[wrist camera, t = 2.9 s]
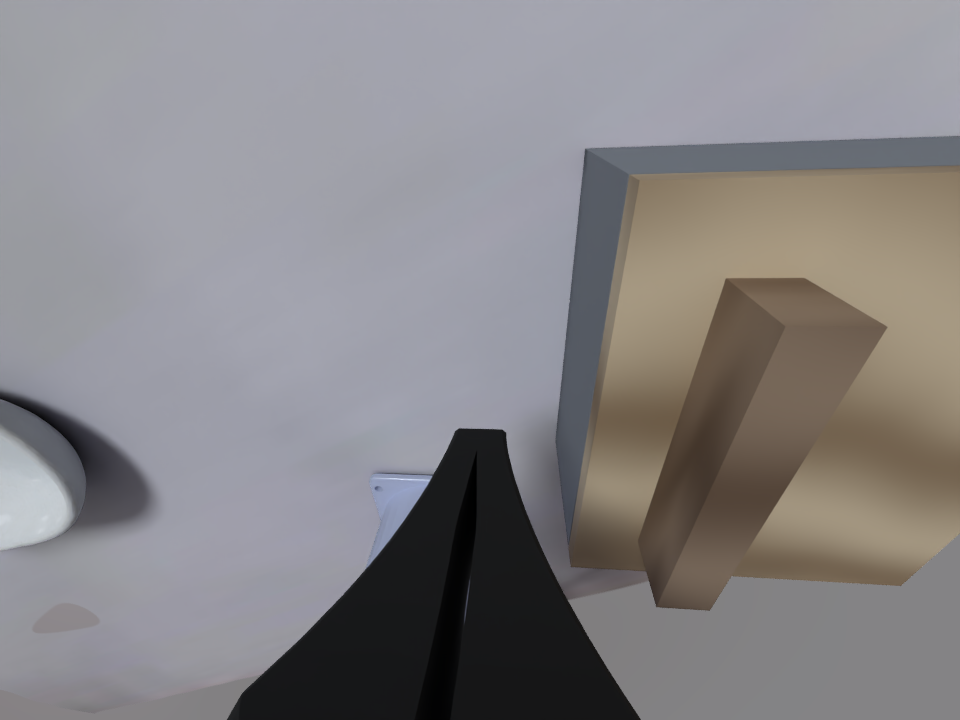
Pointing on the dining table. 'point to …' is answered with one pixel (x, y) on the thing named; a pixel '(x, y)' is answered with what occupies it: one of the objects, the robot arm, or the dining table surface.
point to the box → (602, 231)
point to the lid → (777, 381)
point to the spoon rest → (36, 480)
